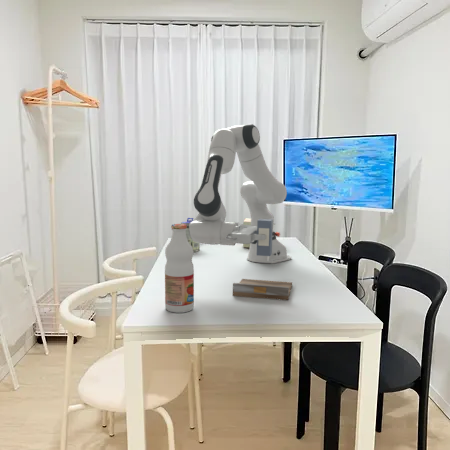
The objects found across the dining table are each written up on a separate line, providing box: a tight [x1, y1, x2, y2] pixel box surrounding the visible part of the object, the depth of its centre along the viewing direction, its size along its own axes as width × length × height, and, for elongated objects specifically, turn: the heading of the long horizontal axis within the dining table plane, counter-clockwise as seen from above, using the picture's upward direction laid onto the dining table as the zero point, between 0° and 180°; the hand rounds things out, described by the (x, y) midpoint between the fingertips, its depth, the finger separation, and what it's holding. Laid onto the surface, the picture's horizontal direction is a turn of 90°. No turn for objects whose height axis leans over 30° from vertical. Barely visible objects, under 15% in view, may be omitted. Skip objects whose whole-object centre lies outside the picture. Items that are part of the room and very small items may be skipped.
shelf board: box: [232, 278, 293, 301], centre depth 164 cm, size 18×20×4 cm
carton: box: [257, 219, 274, 256], centre depth 161 cm, size 5×5×13 cm
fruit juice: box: [164, 223, 195, 314], centre depth 142 cm, size 9×9×28 cm
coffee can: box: [186, 223, 201, 253], centre depth 236 cm, size 10×10×14 cm
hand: (267, 235), depth 161 cm, fingers closed on carton, 5 cm apart
